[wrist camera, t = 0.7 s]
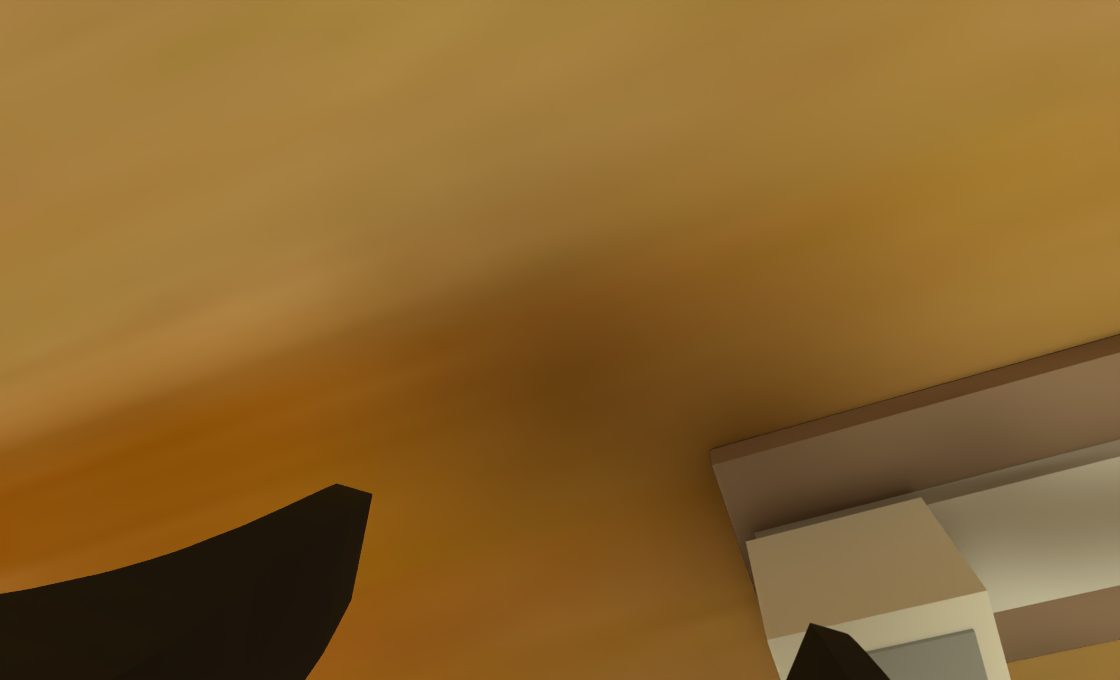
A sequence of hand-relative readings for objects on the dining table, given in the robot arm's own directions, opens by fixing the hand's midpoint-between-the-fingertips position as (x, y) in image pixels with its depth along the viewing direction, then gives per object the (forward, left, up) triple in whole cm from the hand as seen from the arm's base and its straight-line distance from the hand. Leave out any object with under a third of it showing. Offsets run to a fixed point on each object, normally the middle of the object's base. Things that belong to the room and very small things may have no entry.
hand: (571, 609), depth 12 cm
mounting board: (-6, -10, -10) cm, 15 cm away
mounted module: (-6, -5, -8) cm, 11 cm away
